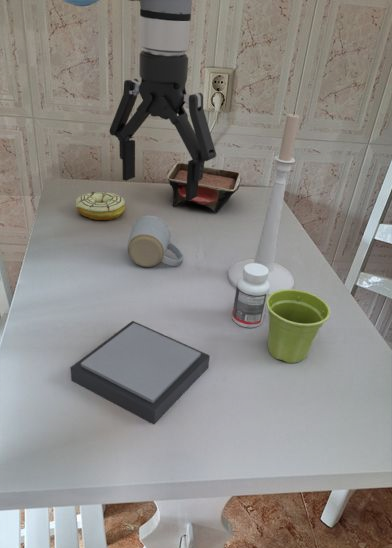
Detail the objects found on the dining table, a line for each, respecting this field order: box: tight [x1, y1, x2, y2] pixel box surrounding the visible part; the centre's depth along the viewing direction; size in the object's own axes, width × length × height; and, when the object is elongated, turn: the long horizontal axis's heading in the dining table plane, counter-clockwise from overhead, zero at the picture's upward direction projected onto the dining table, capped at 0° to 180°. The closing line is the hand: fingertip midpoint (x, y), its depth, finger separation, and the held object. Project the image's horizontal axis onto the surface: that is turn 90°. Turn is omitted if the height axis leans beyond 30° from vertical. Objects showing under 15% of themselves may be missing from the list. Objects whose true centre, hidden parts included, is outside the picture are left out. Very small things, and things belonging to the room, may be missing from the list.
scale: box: [69, 320, 211, 425], centre depth 69 cm, size 14×14×3 cm
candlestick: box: [227, 112, 301, 296], centre depth 85 cm, size 13×13×30 cm
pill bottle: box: [231, 263, 270, 329], centre depth 80 cm, size 5×5×10 cm
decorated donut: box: [75, 191, 126, 221], centre depth 110 cm, size 10×11×4 cm
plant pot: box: [266, 288, 331, 364], centre depth 75 cm, size 9×9×9 cm
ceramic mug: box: [127, 215, 184, 268], centre depth 94 cm, size 11×8×8 cm
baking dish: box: [166, 162, 242, 214], centre depth 120 cm, size 14×18×10 cm
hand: (159, 188), depth 88 cm, fingers open, 13 cm apart
